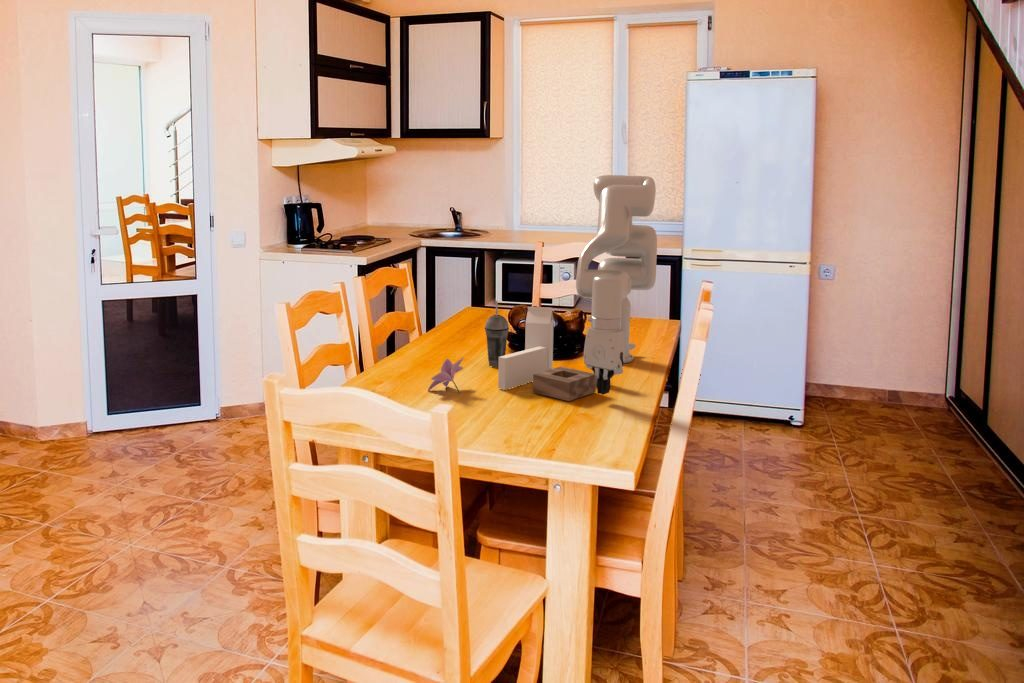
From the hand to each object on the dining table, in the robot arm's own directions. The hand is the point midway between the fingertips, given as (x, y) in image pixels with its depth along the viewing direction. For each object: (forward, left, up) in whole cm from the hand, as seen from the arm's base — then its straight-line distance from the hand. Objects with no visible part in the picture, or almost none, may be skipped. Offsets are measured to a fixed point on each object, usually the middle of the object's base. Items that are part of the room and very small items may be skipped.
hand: (603, 392), depth 231 cm
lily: (+19, -37, -3) cm, 42 cm away
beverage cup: (-10, -46, -3) cm, 47 cm away
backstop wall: (0, -27, -3) cm, 27 cm away
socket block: (0, -13, -3) cm, 13 cm away
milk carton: (-14, -33, -3) cm, 36 cm away
